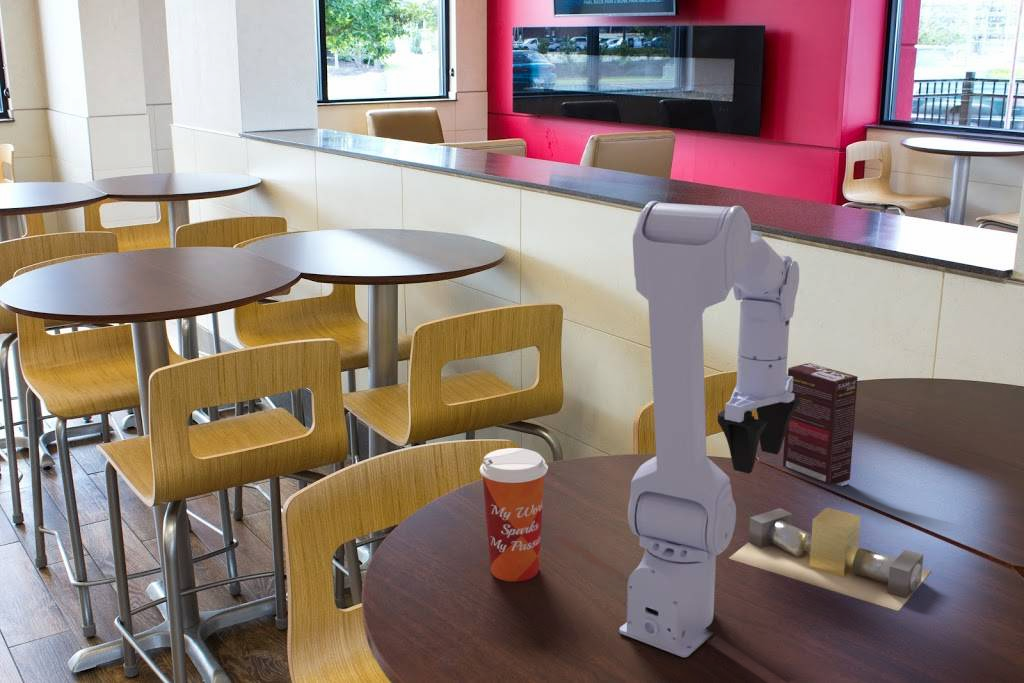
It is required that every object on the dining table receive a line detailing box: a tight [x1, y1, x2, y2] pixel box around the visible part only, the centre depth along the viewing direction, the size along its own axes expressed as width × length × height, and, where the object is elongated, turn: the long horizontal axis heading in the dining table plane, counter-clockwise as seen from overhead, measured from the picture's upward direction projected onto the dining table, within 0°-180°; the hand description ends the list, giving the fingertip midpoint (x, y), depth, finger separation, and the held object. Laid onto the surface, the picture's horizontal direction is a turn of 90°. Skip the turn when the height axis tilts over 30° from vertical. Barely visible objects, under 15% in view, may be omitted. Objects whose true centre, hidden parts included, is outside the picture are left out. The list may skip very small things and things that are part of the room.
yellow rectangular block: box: [809, 507, 862, 578], centre depth 116 cm, size 4×4×6 cm
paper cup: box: [479, 447, 549, 583], centre depth 117 cm, size 8×8×14 cm
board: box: [727, 507, 932, 612], centre depth 117 cm, size 11×20×4 cm, turn 51°
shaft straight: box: [853, 547, 921, 592], centre depth 113 cm, size 6×3×3 cm, turn 51°
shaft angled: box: [768, 520, 812, 558], centre depth 121 cm, size 6×3×3 cm, turn 31°
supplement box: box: [782, 362, 859, 486], centre depth 142 cm, size 9×5×16 cm, turn 34°
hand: (756, 461), depth 124 cm, fingers open, 7 cm apart
